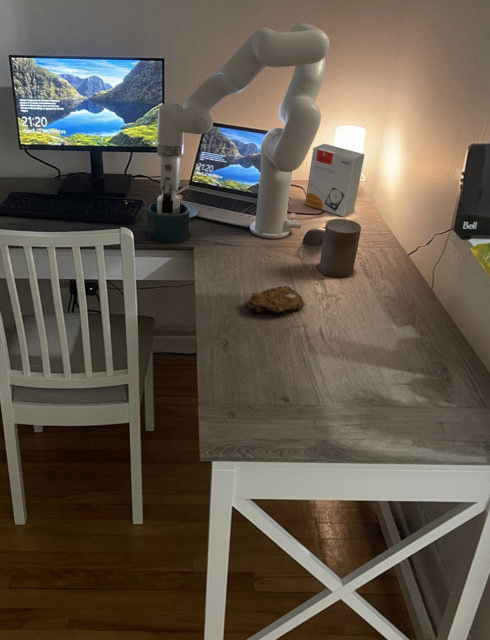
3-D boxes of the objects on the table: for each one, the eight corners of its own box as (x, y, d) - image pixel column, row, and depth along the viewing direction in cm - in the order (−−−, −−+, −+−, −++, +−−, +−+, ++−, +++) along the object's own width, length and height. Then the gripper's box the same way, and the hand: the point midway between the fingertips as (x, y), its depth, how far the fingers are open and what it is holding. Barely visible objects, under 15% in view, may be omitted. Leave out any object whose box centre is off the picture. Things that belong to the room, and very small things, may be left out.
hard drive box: (303, 205, 234) (311, 147, 224) (315, 199, 239) (323, 142, 229) (343, 217, 226) (354, 158, 215) (355, 211, 231) (365, 153, 220)
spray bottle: (178, 237, 206) (180, 180, 197) (156, 236, 206) (157, 179, 197) (179, 228, 212) (181, 172, 202) (157, 228, 212) (158, 171, 202)
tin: (189, 227, 215) (190, 202, 210) (186, 244, 204) (187, 217, 199) (150, 225, 215) (150, 199, 211) (145, 241, 205) (145, 214, 200)
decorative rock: (264, 326, 166) (310, 313, 173) (267, 312, 164) (313, 299, 171) (237, 303, 174) (282, 292, 181) (239, 289, 171) (285, 278, 179)
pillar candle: (359, 270, 193) (369, 221, 185) (341, 281, 187) (350, 231, 179) (330, 259, 198) (338, 211, 190) (311, 269, 192) (319, 220, 184)
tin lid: (198, 207, 229) (199, 190, 226) (196, 223, 218) (197, 205, 214) (158, 204, 230) (159, 187, 227) (154, 220, 218) (154, 202, 215)
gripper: (180, 159, 188) (178, 219, 197) (185, 141, 202) (183, 198, 212) (153, 157, 188) (152, 218, 198) (160, 139, 203) (159, 196, 212)
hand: (168, 207), depth 205 cm, fingers closed on spray bottle, 6 cm apart
